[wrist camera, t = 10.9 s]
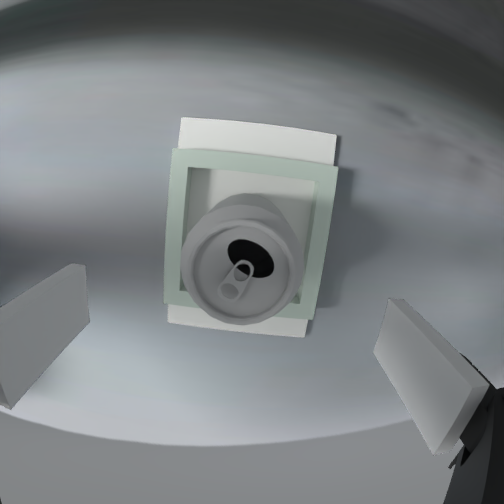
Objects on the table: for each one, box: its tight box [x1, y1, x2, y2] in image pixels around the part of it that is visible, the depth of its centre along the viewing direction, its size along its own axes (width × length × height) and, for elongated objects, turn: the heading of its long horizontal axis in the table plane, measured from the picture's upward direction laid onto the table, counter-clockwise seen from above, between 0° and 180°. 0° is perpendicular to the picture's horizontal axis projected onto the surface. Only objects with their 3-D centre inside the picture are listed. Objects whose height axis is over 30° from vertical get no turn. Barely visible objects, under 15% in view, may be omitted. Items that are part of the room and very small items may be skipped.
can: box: [180, 193, 304, 325], centre depth 23 cm, size 8×8×12 cm
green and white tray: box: [163, 117, 338, 338], centre depth 28 cm, size 14×20×2 cm
